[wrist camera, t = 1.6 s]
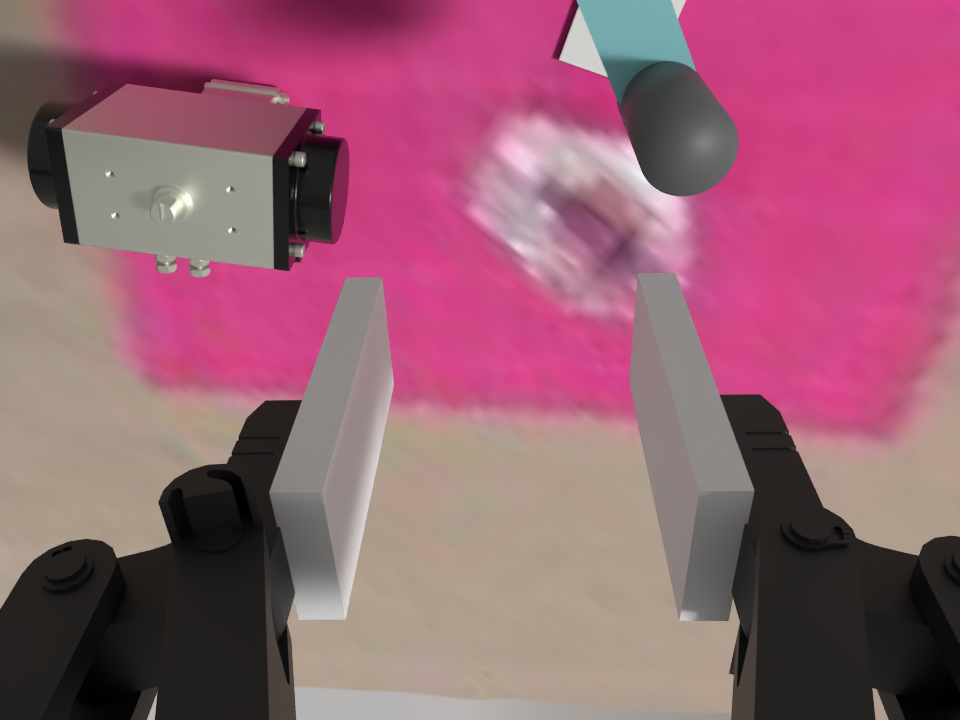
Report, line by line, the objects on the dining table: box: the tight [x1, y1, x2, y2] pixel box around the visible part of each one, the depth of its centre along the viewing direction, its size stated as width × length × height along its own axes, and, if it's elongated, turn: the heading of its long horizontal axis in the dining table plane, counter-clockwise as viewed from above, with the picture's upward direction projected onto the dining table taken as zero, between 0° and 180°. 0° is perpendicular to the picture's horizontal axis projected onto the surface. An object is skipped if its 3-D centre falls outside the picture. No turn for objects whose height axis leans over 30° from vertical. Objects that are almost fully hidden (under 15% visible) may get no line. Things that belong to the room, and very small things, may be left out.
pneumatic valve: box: [27, 79, 349, 277], centre depth 35 cm, size 6×12×12 cm, turn 83°
